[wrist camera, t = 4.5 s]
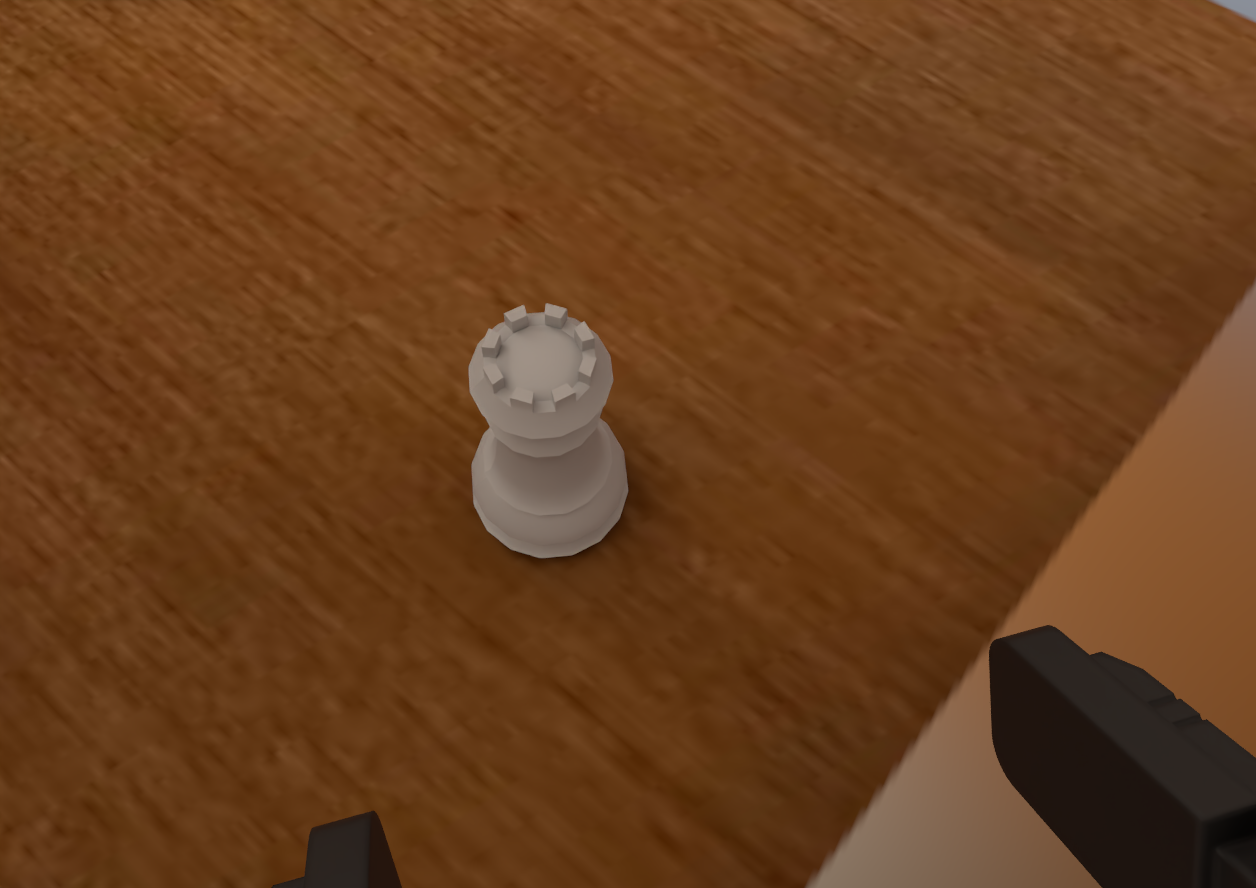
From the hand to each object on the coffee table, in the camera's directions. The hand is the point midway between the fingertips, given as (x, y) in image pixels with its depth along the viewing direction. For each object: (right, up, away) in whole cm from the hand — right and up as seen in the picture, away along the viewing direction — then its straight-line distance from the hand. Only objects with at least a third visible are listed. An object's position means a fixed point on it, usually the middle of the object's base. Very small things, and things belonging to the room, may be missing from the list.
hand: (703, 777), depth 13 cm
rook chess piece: (-3, +3, +17) cm, 17 cm away
